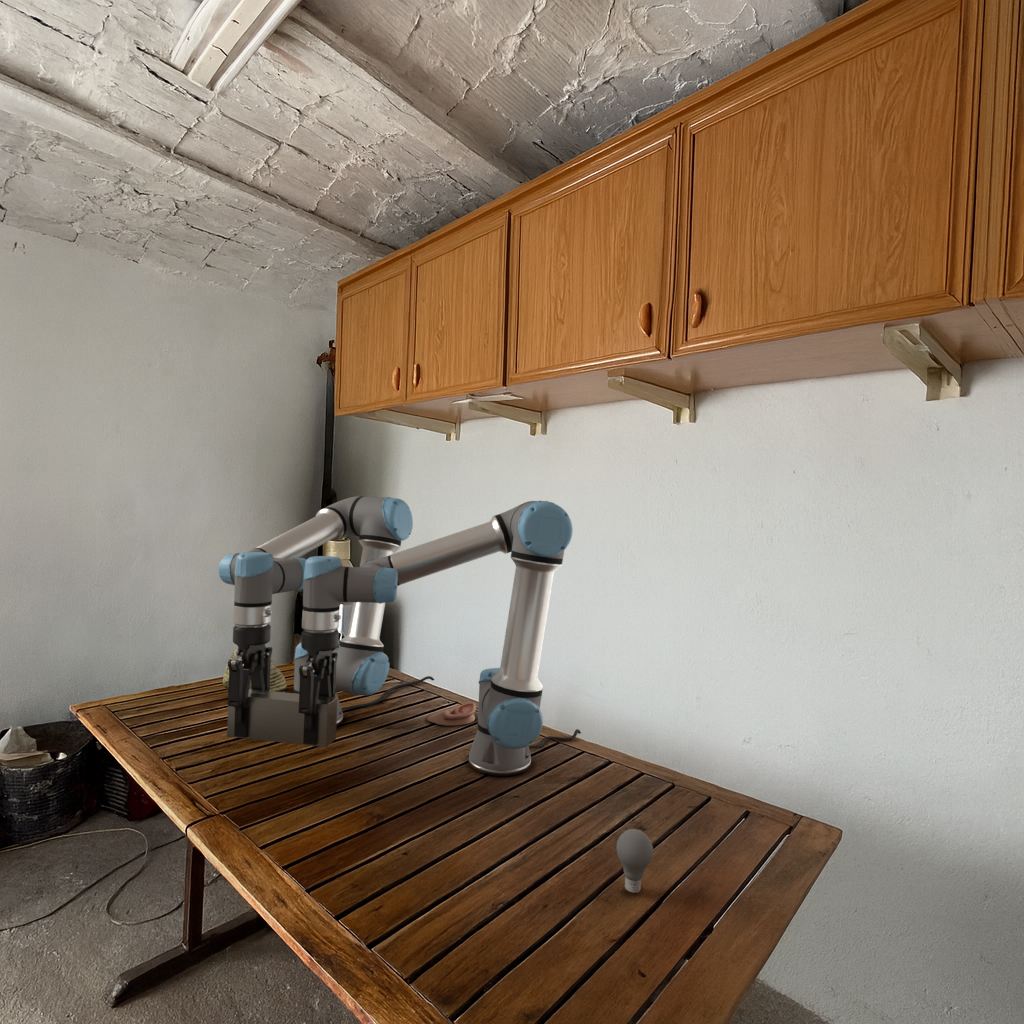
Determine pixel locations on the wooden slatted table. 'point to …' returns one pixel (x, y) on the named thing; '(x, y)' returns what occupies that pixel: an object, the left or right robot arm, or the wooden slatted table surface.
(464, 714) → the anatomical model
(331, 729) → the bar
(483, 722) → the right robot arm
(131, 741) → the wooden slatted table surface
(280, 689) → the fossil
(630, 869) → the light bulb
